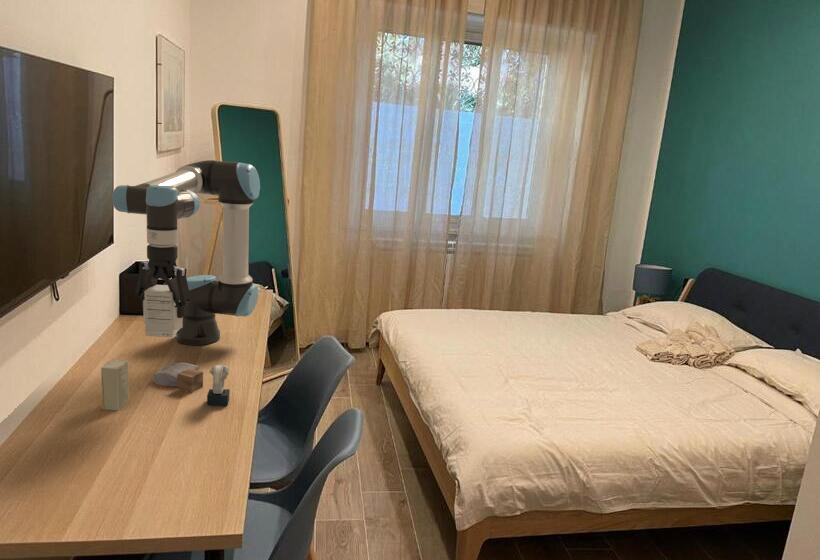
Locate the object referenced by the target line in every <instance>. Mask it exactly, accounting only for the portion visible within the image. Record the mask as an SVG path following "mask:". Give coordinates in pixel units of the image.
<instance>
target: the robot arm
mask: <svg viewBox="0 0 820 560" xmlns="http://www.w3.org/2000/svg"><path fill="white" fill-rule="evenodd" d="M260 191H261V181H260V176H259V173H258V171H257V169H256V167H255V166H253V165H252V164H251V163H244V162H237V161H236V162H235V161H222V160H211V159H210V160H200V161H196V162H191V163H189V164H185V165H183V166H180V167H179V168H177V169H176V171H174V172H173V173H168V174H166V175H163V176H161V177H158V178H154V179H152V180H149V181H146V182H143V183H141V184H136V185H128V184H126V185H122V184H121V185H120V184H119V185H117V186H116V187H115V188H114V190H113V192H112V194H111V198H112V200H111V201H112V206H113V207H114V209H115V210H116V211H118V212H121V213H126V214H137V215H145V216H146V243H147V244H148V245H147V246H146V258H147V260H143V261H139V262H138V269H139V271H138V276H137V282H136V287H135V289H134V295H135V297H139V298H140V300H141V310H142V311H143V315H142V316H143V324H145V293H144V291H145V290H147V289H148V288H149V287H152V286H155V285H157V283H158V281H159V280H162V281H163V282H164V283H165V285H168V287H169V290H170V292H173V299H174V302H175V304H176V305H175V306H173V330H178V329H179V331H178V332H177V333H176V334H175V338H176V339H175V340H176V341H177V342H179V343H181V344H184V345H188V346H189V345H190V346H203V345H210V344H214V343H216V342H218V341H220V339H221V331H220V329H219V326H218V322H217V319H216V314H218V315H224V316H225V315H227V316H234V317H249V316H250V315H251V314H253V312H254V310H255V308H256V306H257V303H258V300H259V287H258V286H257V285H256V284H253V283H254V282H253V277H252V276H251V275H250V274H249V248H250V246H249V244H250V243H249V242H250V241H249V240H250V239H249V236H250V235H249V234H250V233H249V232H250V230H249V229H250V226H249V225H250V207H252V206H253V205H254V200H257V199H258V198H259V195H260ZM197 194H202V195H210V196H211V195H212V196H217V198H218V204H219V205H220V206H222V274H221V275H220V276H219V278H218V280H217V277H216V276H215V275H213V274H200V275H194V276H193V275H192V276H190V277H189V276H188V277H187V271H188V270H187V268H186V267H180V266H178V265H177V259H178V255H179V253H178V249H179V248H178V246H177V244H178V243H179V242H178V241H179V240H178V239H179V237H178V234H179V233H178V220H180V219H186V218H190V217H191V216H194V215H195V214H197V212H198V211H199V209H200V206H201V205H200V203H201V202H200V198H199V197H198V195H197ZM179 300H180V302H179Z"/></svg>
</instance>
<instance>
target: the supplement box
mask: <svg viewBox="0 0 820 560" xmlns="http://www.w3.org/2000/svg"><path fill="white" fill-rule="evenodd" d="M144 293H145V323H144V328H145V329H144V331H145V336H146V337H159V338H160V337H161V338H173V337H175V336H176V333H177V332H178V331H179V329H178V330H173V306H175V305H176V304H175V302H174V299H173V292H170V290H169V287H168V285H167V284H156V285H155V286H152V287H149V288H148V289H147V290H145V291H144ZM179 302H180V300H179Z"/></svg>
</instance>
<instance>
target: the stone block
mask: <svg viewBox="0 0 820 560" xmlns="http://www.w3.org/2000/svg"><path fill="white" fill-rule="evenodd" d="M189 368H190V369H194V370H199V366H198V365H195V364H192V363H189V362H183V361H182V362H175V363H170V364H168V365H167V366H164V367H163V368H161V370H159V371H157V372H156V373H154V374H153V378H152V379H153V383H154V384H156V383H157V384H156V385H159V384H160V386H170V387H176V388H178V373H180V372H182V371H184V370H187V369H189ZM199 371H200V370H199Z"/></svg>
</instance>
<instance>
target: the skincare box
mask: <svg viewBox="0 0 820 560" xmlns="http://www.w3.org/2000/svg"><path fill="white" fill-rule="evenodd" d="M100 368H101V369H100V372H101V373H100V374H101V375H100V376H101V406H102V407H101V409H102V410H108V411H120V410H121V409H122V408H123V407H124V406H125V405H126V404H127V403H129V400H130V399H129V360H123V359H113V358H112V359H111V360H109V361H108V362H107V363H106V364H104V365H102V366H101V367H100Z"/></svg>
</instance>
